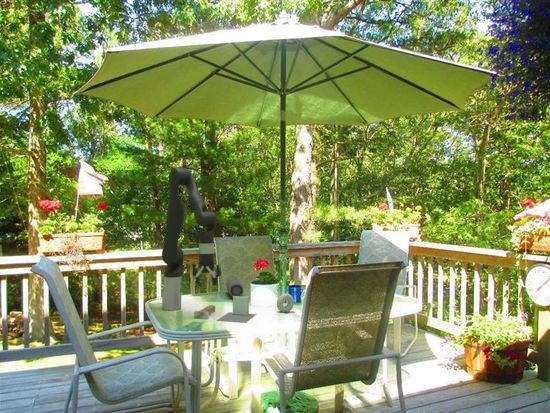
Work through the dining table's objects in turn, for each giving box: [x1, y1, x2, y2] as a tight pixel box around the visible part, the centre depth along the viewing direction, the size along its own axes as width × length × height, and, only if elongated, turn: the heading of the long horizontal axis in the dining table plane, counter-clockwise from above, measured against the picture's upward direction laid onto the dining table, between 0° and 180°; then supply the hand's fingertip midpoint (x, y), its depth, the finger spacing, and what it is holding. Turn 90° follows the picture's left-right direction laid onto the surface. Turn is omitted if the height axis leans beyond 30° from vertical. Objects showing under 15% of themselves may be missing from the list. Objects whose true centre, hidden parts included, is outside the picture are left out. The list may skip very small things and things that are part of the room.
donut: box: [276, 292, 295, 314], centre depth 243 cm, size 10×4×10 cm, turn 119°
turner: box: [193, 304, 216, 320], centre depth 233 cm, size 7×16×4 cm, turn 166°
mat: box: [215, 311, 257, 324], centre depth 229 cm, size 15×18×1 cm
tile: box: [232, 296, 250, 315], centre depth 235 cm, size 8×1×9 cm, turn 76°
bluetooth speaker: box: [225, 277, 244, 298], centre depth 285 cm, size 23×9×10 cm, turn 10°
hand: (206, 284), depth 233 cm, fingers open, 8 cm apart
